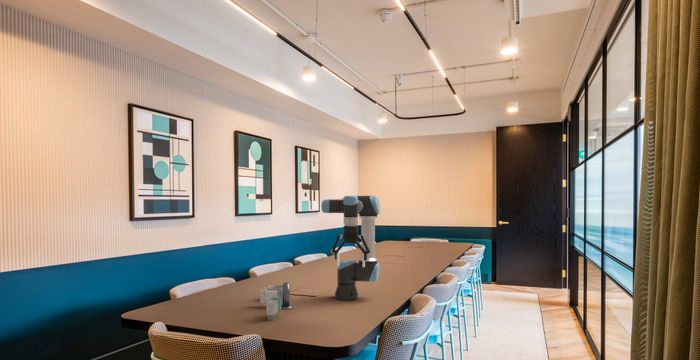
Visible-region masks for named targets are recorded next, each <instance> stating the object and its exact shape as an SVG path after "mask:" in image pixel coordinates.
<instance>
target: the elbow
mask: <svg viewBox="0 0 700 360" xmlns="http://www.w3.org/2000/svg"><path fill="white" fill-rule="evenodd" d="M259 295H260V298H259V299H260V300H259V302H260V303H261V304H262V303H263V304H264V303H265V304H266V303H267V302H268V301H270V300H271V297H281V306H282V305H283V289H279V290H278V291H275V290H268V289H263V288H262V289H260V293H259Z"/></svg>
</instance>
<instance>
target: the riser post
mask: <svg viewBox="0 0 700 360" xmlns="http://www.w3.org/2000/svg"><path fill="white" fill-rule="evenodd" d="M290 284H291V283H290V282H288V281H287V282H286V281H285V282H282V285H283V305H282V306H281V310H291V309H293V308H294V305H293V304H290V303H291V301H290V300H291V299H290V298H291V297H290V295H291V285H290Z"/></svg>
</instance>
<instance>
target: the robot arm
mask: <svg viewBox="0 0 700 360" xmlns="http://www.w3.org/2000/svg"><path fill="white" fill-rule="evenodd" d="M380 207H381V206H380V200H379V197H377V196H376V195H344V197H342V198H337V199H335V198H334V199H333V198H332V199H329V198H328V199H323V200H322V202H321V212H322V213H325V214H343V225H344V226H343V234H340V233H339V234H337V237H336V240H335V242H334V244H333V246H332V249H330V250H331V253H334V260H336V267H337V270H336V271H337V272H336V274H337V276H336V277H337V279H336V280H337V285H336V289H335V291H334V299H337V300H341V301H352V300H356V299H359V292H358V289H357V285H356V282H362V283H364V282H366V283H375V282H377V281H378V279H379V275H380V268H381V267H380V265H381V264H380V263H379V262H378V259H377V258H376V256H375V255H376V254H375V253H376V251H375V250H376V248H375V247H376V245H375V243H376V241H375V240H376V238H375V237H376V219H377V218H378V215H380V213H381V209H380ZM359 219H360V221H361V226H360V227H361V234H360V235H359V226H358V225H359ZM341 239H343V241H342V242H341V243H340V245H339V242H340V241H341ZM358 239H360V240H361V241H359V240H358ZM346 244H351V245H352V244H355V245H356V246H357V247H358V248H359V250H360V254H361V255H360V258H359V259H358V262H357V261H356V259H346V260H341V261H340V250H342V248H343V247H344V246H345V245H346ZM338 245H339V246H338Z"/></svg>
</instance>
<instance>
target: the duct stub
mask: <svg viewBox="0 0 700 360" xmlns="http://www.w3.org/2000/svg"><path fill="white" fill-rule="evenodd" d="M265 304H266V305H265V308H266V309H265V310H266V313H265V315H266V316H267V321H272V322H273V321H275V320H276V314H277V313H278V312H281V311H282V309H281V297H271V300H270V301H268V302H265Z"/></svg>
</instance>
